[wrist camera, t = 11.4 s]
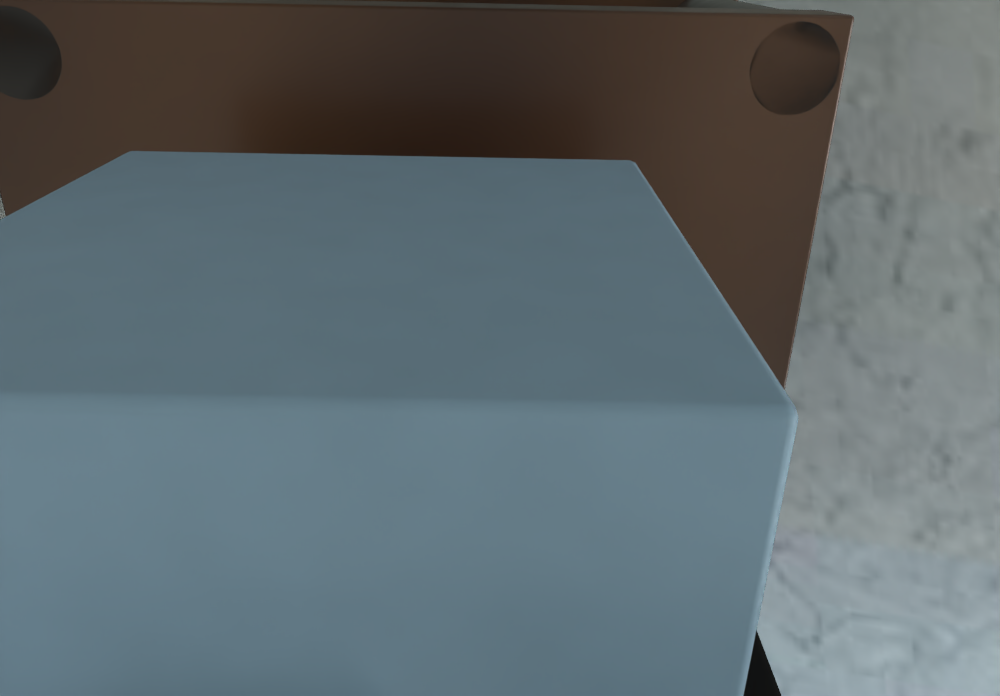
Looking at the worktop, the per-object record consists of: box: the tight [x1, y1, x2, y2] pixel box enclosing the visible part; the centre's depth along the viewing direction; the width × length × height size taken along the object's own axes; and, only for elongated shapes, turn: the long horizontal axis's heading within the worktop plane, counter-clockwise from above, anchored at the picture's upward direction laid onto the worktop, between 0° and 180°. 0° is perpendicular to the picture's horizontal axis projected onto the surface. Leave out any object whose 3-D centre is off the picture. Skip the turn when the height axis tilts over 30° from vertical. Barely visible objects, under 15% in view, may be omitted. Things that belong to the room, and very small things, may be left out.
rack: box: [0, 0, 854, 390], centre depth 19 cm, size 12×14×10 cm
